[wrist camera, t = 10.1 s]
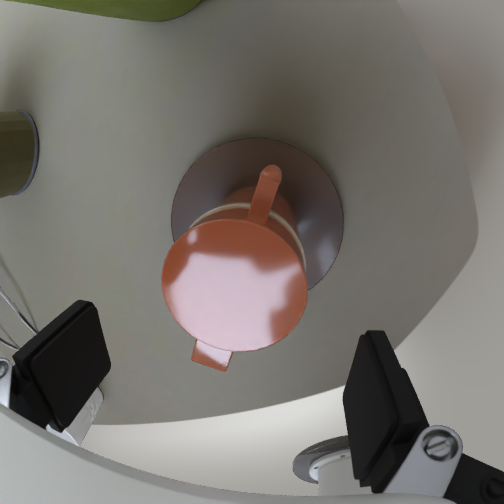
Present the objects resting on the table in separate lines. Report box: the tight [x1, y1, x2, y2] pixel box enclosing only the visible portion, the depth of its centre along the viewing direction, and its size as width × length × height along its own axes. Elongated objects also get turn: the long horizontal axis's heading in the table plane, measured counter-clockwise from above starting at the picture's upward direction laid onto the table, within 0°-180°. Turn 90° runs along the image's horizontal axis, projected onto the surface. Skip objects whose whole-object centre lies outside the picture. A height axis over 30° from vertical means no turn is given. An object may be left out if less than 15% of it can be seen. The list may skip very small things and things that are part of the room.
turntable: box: [171, 138, 344, 291], centre depth 24 cm, size 14×14×2 cm
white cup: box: [46, 387, 103, 447], centre depth 31 cm, size 8×8×10 cm
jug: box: [162, 163, 308, 372], centre depth 18 cm, size 10×7×11 cm, turn 162°
